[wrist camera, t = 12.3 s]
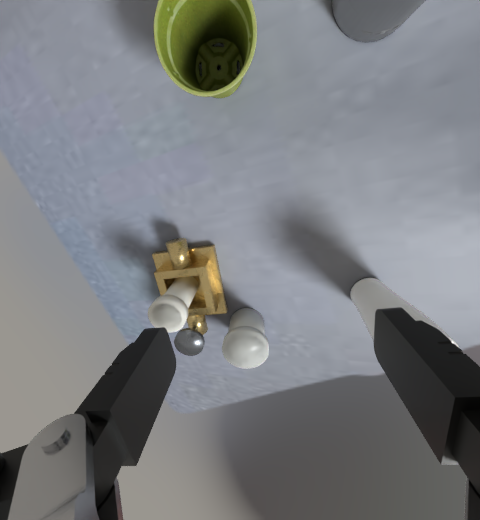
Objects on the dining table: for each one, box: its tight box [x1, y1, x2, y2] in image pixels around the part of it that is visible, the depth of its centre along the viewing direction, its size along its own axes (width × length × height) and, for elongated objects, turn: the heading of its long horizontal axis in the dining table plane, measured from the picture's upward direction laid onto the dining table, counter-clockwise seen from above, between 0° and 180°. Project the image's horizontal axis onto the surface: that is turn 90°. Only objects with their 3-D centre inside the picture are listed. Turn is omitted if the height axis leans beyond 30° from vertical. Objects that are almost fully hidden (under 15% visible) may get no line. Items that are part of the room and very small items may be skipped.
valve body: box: [152, 238, 228, 356], centre depth 37 cm, size 17×10×8 cm, turn 9°
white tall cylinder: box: [350, 278, 459, 348], centre depth 32 cm, size 7×7×15 cm
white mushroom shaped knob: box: [148, 276, 198, 333], centre depth 36 cm, size 5×5×9 cm
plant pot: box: [154, 0, 257, 98], centre depth 26 cm, size 9×9×9 cm
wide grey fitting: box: [222, 308, 269, 369], centre depth 39 cm, size 7×7×7 cm
